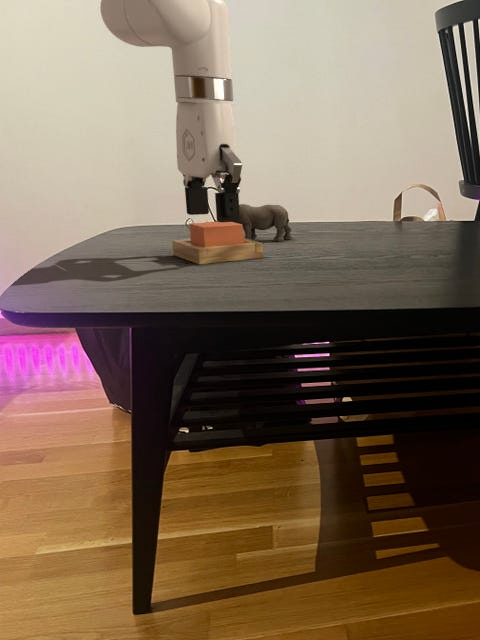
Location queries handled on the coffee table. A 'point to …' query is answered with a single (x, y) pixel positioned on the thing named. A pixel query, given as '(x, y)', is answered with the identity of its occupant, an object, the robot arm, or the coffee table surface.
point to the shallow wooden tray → (217, 251)
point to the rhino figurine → (264, 220)
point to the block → (216, 233)
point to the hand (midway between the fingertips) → (212, 217)
